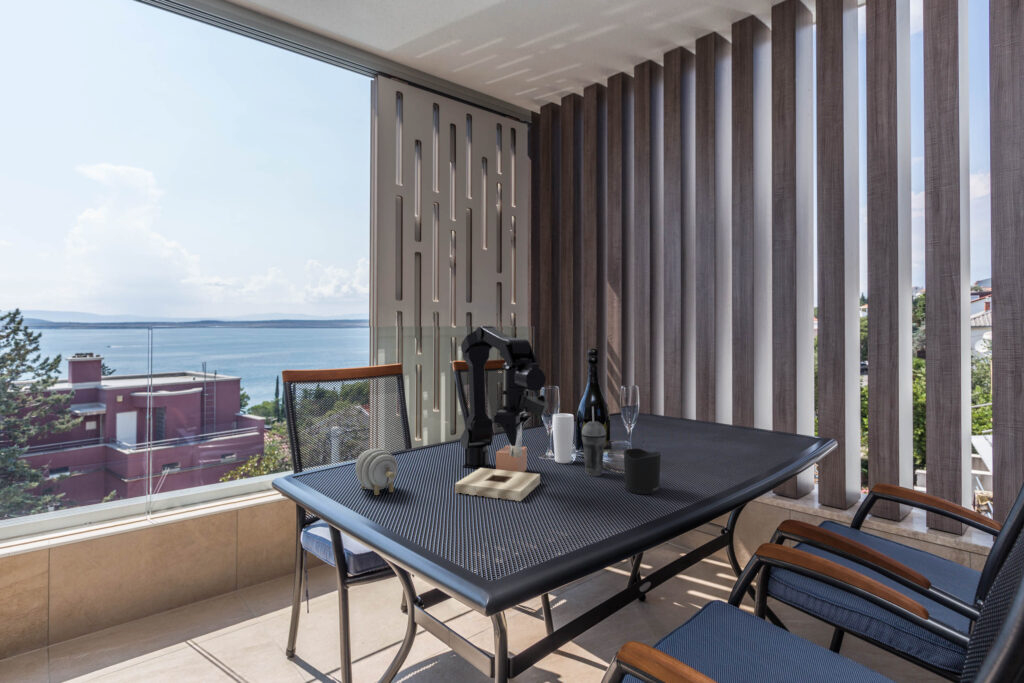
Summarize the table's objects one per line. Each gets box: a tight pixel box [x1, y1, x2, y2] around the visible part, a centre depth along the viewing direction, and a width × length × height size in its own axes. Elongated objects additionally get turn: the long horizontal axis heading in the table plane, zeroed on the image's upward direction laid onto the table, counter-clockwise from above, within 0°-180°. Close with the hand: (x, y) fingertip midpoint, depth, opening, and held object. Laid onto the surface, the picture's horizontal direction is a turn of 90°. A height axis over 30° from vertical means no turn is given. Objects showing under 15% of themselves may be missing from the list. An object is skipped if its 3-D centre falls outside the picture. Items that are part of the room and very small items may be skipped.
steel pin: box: [509, 424, 523, 457], centre depth 140 cm, size 3×3×9 cm
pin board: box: [454, 467, 541, 502], centre depth 140 cm, size 18×16×2 cm
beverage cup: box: [581, 406, 608, 477], centre depth 153 cm, size 7×7×20 cm
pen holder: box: [623, 448, 662, 495], centre depth 139 cm, size 9×9×10 cm
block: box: [495, 444, 528, 473], centre depth 155 cm, size 6×9×7 cm
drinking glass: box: [551, 412, 575, 464], centre depth 167 cm, size 7×7×15 cm
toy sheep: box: [354, 448, 399, 496], centre depth 138 cm, size 11×17×11 cm, turn 46°
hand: (515, 444), depth 140 cm, fingers closed on steel pin, 3 cm apart
